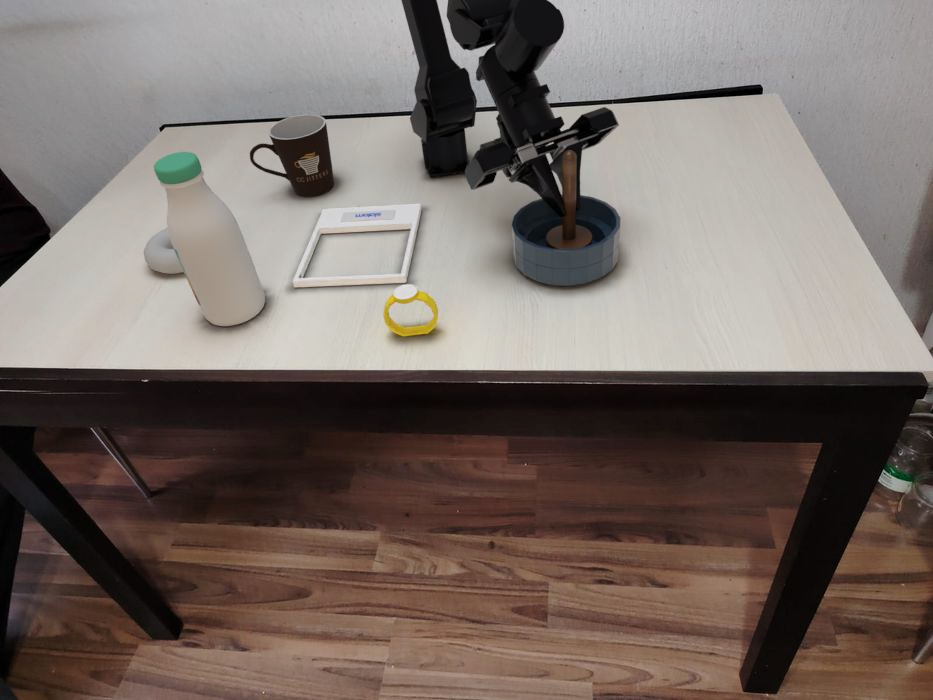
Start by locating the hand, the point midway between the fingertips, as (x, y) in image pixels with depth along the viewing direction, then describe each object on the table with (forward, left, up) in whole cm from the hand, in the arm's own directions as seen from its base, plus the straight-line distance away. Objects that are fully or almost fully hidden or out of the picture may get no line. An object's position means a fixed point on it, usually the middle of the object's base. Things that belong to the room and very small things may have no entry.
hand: (570, 213), depth 79 cm
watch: (+20, +9, -7) cm, 23 cm away
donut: (+51, -15, -7) cm, 54 cm away
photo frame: (+26, -11, -7) cm, 30 cm away
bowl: (0, -1, -7) cm, 7 cm away
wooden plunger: (0, 0, -6) cm, 6 cm away
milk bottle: (+42, -1, -7) cm, 43 cm away
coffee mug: (+35, -31, -7) cm, 48 cm away
